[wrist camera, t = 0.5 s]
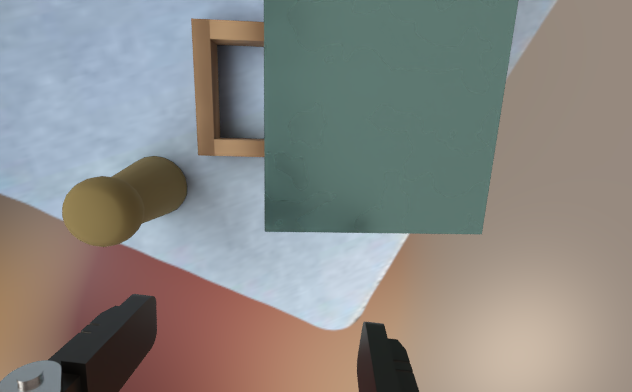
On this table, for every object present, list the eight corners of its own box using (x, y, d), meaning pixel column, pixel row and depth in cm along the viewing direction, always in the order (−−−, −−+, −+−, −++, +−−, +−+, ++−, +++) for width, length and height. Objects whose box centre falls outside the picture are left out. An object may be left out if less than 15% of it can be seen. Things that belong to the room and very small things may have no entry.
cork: (184, 156, 33) (130, 175, 22) (189, 214, 34) (140, 258, 24) (122, 155, 33) (36, 175, 22) (129, 214, 34) (52, 259, 23)
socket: (205, 152, 33) (198, 155, 31) (199, 26, 30) (191, 18, 28) (320, 155, 34) (322, 158, 31) (325, 32, 31) (327, 25, 29)
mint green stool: (283, 166, 34) (264, 231, 15) (285, 15, 30) (263, -149, 12) (380, 169, 34) (481, 234, 15) (392, 20, 31) (538, -128, 12)
